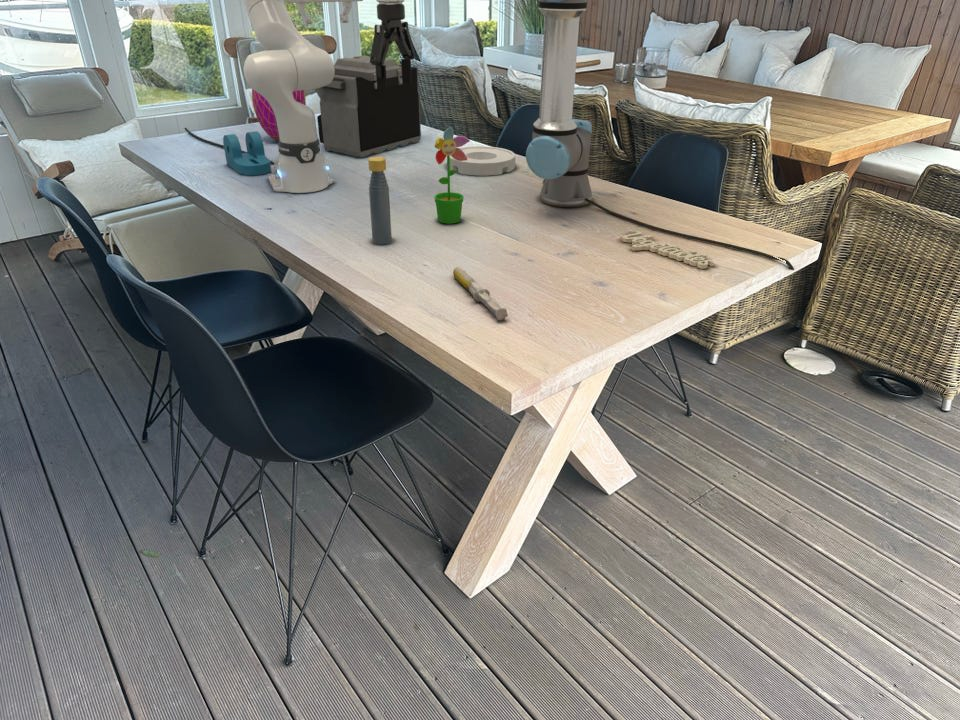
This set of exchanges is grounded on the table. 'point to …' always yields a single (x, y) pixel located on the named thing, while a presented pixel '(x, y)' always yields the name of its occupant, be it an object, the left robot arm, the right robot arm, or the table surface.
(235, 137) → the camera mount
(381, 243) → the bottle
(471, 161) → the ashtray
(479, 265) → the table surface
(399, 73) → the cooler box
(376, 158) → the cap
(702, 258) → the decorative sign
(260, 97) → the decorative egg
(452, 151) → the potted flower
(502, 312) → the syringe
